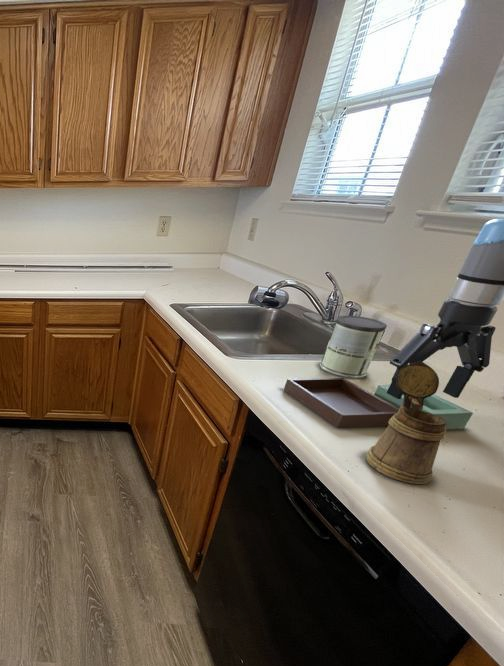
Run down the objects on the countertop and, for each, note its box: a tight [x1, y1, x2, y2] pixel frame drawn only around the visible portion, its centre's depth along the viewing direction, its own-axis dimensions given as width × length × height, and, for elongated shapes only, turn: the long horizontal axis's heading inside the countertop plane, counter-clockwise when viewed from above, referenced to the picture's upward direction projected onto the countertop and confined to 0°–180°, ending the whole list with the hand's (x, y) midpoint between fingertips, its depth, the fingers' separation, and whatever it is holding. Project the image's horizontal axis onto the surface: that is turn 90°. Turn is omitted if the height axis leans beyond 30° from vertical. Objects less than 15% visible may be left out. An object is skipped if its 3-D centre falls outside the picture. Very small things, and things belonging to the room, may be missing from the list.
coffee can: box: [319, 315, 388, 379], centre depth 111 cm, size 10×10×14 cm
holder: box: [283, 377, 399, 429], centre depth 96 cm, size 17×15×3 cm
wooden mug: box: [365, 361, 447, 485], centre depth 74 cm, size 9×14×18 cm, turn 155°
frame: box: [373, 384, 474, 430], centre depth 93 cm, size 13×9×4 cm
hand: (421, 395), depth 92 cm, fingers open, 13 cm apart
